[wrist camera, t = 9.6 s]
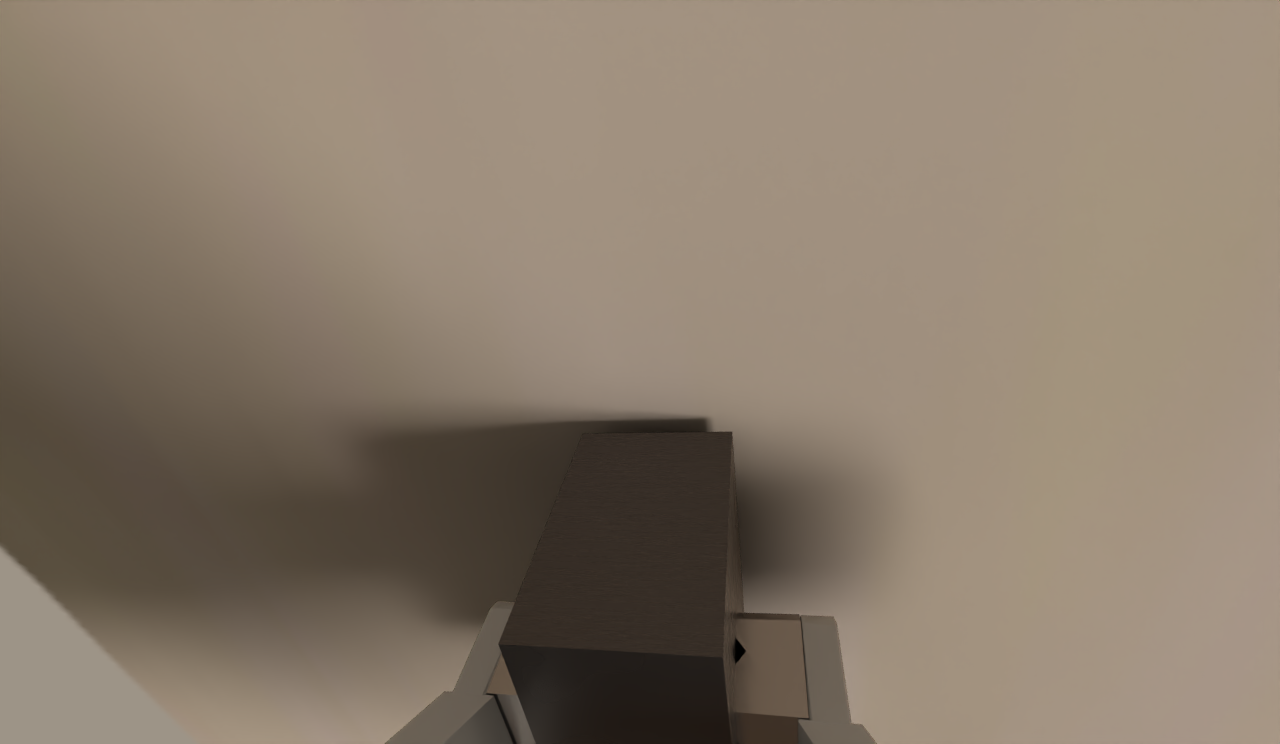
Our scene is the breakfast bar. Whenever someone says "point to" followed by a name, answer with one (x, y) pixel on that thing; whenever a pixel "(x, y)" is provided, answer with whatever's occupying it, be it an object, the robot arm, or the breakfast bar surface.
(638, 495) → the scraper
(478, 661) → the robot arm
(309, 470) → the breakfast bar surface
